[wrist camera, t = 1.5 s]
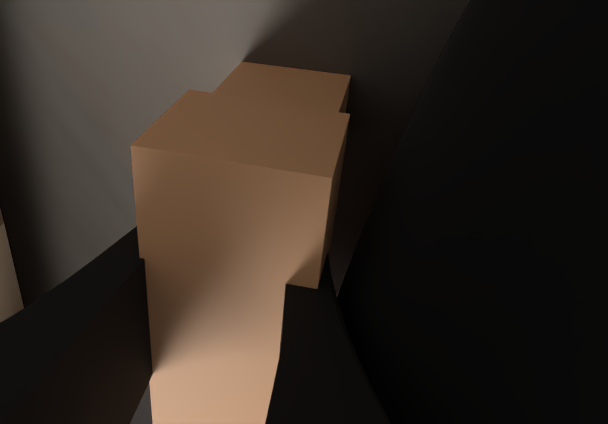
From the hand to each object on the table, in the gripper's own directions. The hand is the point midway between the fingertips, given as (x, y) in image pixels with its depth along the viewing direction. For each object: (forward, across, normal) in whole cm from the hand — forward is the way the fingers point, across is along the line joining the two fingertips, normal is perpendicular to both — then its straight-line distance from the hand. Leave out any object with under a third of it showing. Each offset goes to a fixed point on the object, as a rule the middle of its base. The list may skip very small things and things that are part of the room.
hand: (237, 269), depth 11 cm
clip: (+4, 0, +1) cm, 4 cm away
